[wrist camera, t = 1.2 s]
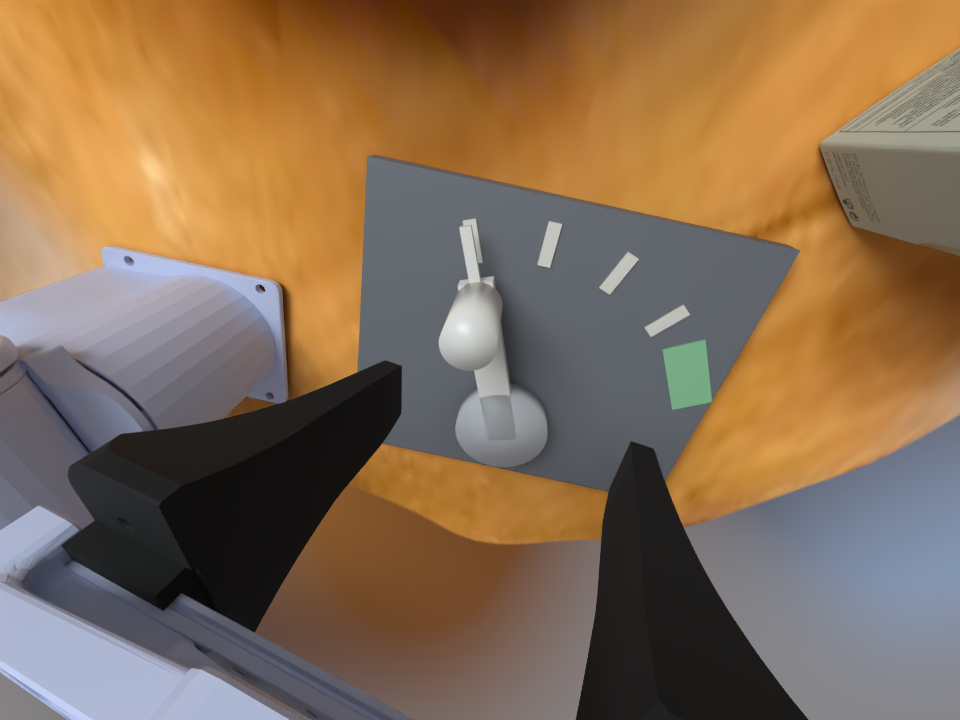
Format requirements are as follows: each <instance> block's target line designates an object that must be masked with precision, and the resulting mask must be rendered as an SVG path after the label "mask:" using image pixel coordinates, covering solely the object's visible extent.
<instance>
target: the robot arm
mask: <svg viewBox="0 0 960 720" xmlns="http://www.w3.org/2000/svg"><path fill="white" fill-rule="evenodd" d="M101 255H102V259H103V262H104V266H102V267H99V268H97V269H94V270H91V271H88V272H85V273H82V274H79V275H76V276H73V277H70V278H67V279H64V280H61V281H59V282H56V283H53V284H50V285H47V286H44V287H41V288H38V289H35V290H32V291H29V292H26V293H23V294H21V295H18V296H15V297H12V298H9V299H6V300H3V301H0V673H2V674H3V675H5V676H6V677H8V678H9V679H10V680H12V681H13V682H15V683H16V684H18V685H19V686H20V687H22V688H23V689H25V690H26V691H28V692H29V693H31V694H32V695H33V696H35V697H36V698H38V699H39V700H41V701H42V702H44V703H45V704H46V705H48V706H49V707H51V708H52V709H53V710H55V711H56V712H58V713H59V714H61V715H62V716H64V717H65V718H66V719H68V720H302V719H301V718H299V717H297V716H296V715H294V714H292V713H290V712H289V711H287V710H285V709H283V708H282V707H280V706H278V705H277V704H275V703H273V702H271V701H270V700H268V699H266V698H265V697H263V696H261V695H260V694H258V693H256V692H254V691H253V690H251V689H249V688H247V687H246V686H244V685H242V684H241V683H239V682H237V681H236V680H234V678H233V676H232V675H230V674H229V673H228V672H226V671H225V670H224V669H226V670H227V671H229V672H231V673H233V674H234V675H236V676H238V677H239V678H241V679H243V680H245V681H246V682H248V683H250V684H252V685H253V686H255V687H257V688H258V689H260V690H262V691H264V692H265V693H267V694H269V695H270V696H272V697H274V698H276V699H277V700H279V701H281V702H283V703H285V704H286V705H288V706H289V707H291V708H293V709H295V710H296V711H298V712H300V713H302V714H303V715H305V716H307V717H308V718H310V719H312V720H414V719H413V718H411V717H409V716H407V715H405V714H403V713H402V712H400V711H398V710H396V709H394V708H392V707H390V706H388V705H387V704H385V703H383V702H381V701H379V700H378V699H376V698H374V697H372V696H370V695H368V694H366V693H365V692H363V691H361V690H359V689H357V688H356V687H354V686H352V685H350V684H348V683H346V682H345V681H342V680H341V679H339V678H337V677H335V676H333V675H332V674H330V673H328V672H326V671H324V670H322V669H321V668H319V667H317V666H315V665H313V664H311V663H309V662H308V661H306V660H304V659H302V658H300V657H298V656H297V655H295V654H293V653H291V652H289V651H287V650H286V649H284V648H282V647H280V646H278V645H276V644H274V643H272V642H271V641H269V640H267V639H265V638H264V637H262V636H260V635H258V634H256V633H255V631H256V629H257V627H258V625H259V623H260V622H261V620H262V618H263V616H264V614H265V613H266V611H267V609H268V607H269V606H270V604H271V602H272V600H273V598H274V597H275V595H276V593H277V591H278V590H279V588H280V586H281V584H282V583H283V581H284V579H285V578H286V576H287V574H288V573H289V571H290V569H291V568H292V566H293V564H294V563H295V561H296V559H297V558H298V556H299V555H300V553H301V551H302V550H303V548H304V547H305V545H306V543H307V542H308V540H309V539H310V537H311V536H312V534H313V533H314V531H315V530H316V528H317V526H318V525H319V524H320V522H321V521H322V519H323V518H324V516H325V515H326V513H327V512H328V510H329V509H330V507H331V506H332V504H333V503H334V501H335V500H336V499H337V498H338V496H339V495H340V493H341V492H342V491H343V490H344V488H345V487H346V486H347V485H348V484H349V483H350V481H351V480H352V479H353V478H354V477H355V475H356V474H357V473H358V472H359V471H360V469H361V468H362V467H363V466H364V465H365V464H366V462H367V461H368V460H369V459H370V458H371V456H372V455H373V454H374V453H375V451H376V450H377V449H378V448H379V447H380V445H381V444H382V443H383V442H384V440H385V439H386V438H387V436H388V435H389V433H390V432H391V430H392V429H393V427H394V425H395V424H396V422H397V420H398V419H399V417H400V415H401V410H402V366H401V365H398V364H395V363H392V362H389V361H386V360H385V361H382V362H380V363H377V364H375V365H373V366H370V367H368V368H366V369H364V370H361V371H359V372H357V373H355V374H353V375H350V376H348V377H346V378H344V379H341V380H339V381H337V382H335V383H332V384H330V385H328V386H325V387H323V388H320V389H318V390H315V391H313V392H310V393H308V394H305V395H302V396H300V397H297V398H295V399H292V400H289V401H286V400H287V399H288V379H287V362H286V345H285V328H284V311H283V294H282V288H281V286H280V284H279V283H277V282H276V281H274V280H270V279H265V278H261V277H256V276H251V275H247V274H242V273H237V272H233V271H228V270H223V269H219V268H214V267H209V266H205V265H200V264H195V263H191V262H186V261H182V260H177V259H172V258H168V257H163V256H158V255H154V254H149V253H144V252H140V251H135V250H130V249H126V248H121V247H117V246H107V247H104V248H102V250H101ZM130 257H131V258H132V259H133V261H134V262H133V261H132V260H131V259H130ZM259 285H262V286H263V287H264V288H265V291H263V290H262V289H261V288H260V286H259ZM269 392H270V393H272V394H273V395H271V394H270V393H269ZM245 397H250V398H255V399H259V400H264V401H269V402H273V403H278V404H277V405H274V406H270V407H267V408H264V409H260V410H257V411H253V412H249V413H245V414H241V415H237V416H233V417H228V418H225V417H226V416H227V415H228V414H229V413H230V412H231V411H232V410H233V409H234V408H235V407H236V406H237V405H238V404H239V403H240V402H241V401H242V400H243V399H244V398H245ZM285 401H286V402H285ZM221 667H222V668H224V669H222V668H221ZM576 720H808V719H807V717H806V716H805V715H804V714H803V713H802V711H801V710H800V709H799V708H798V706H797V705H796V704H795V703H794V702H793V700H792V699H791V698H790V697H789V695H788V694H787V693H786V692H785V690H784V689H783V688H782V686H781V685H780V684H779V682H778V681H777V680H776V678H775V677H774V676H773V674H772V673H771V672H770V670H769V669H768V668H767V666H766V665H765V664H764V662H763V661H762V660H761V658H760V657H759V655H758V654H757V653H756V651H755V650H754V648H753V647H752V646H751V644H750V643H749V641H748V639H747V638H746V636H745V635H744V633H743V632H742V630H741V629H740V628H739V626H738V625H737V623H736V621H735V620H734V619H733V617H732V616H731V614H730V613H729V611H728V609H727V608H726V606H725V605H724V603H723V601H722V600H721V598H720V596H719V595H718V593H717V591H716V590H715V588H714V586H713V584H712V583H711V581H710V579H709V577H708V576H707V574H706V572H705V570H704V568H703V566H702V564H701V563H700V561H699V559H698V557H697V555H696V553H695V551H694V549H693V547H692V545H691V543H690V540H689V538H688V536H687V534H686V532H685V530H684V528H683V525H682V523H681V521H680V518H679V516H678V514H677V511H676V509H675V506H674V504H673V501H672V499H671V496H670V494H669V491H668V488H667V486H666V483H665V480H664V477H663V474H662V471H661V468H660V465H659V462H658V459H657V455H656V452H655V451H654V449H653V448H651V447H648V446H645V445H642V444H639V443H636V442H632V441H631V442H630V444H629V446H628V448H627V451H626V453H625V455H624V457H623V459H622V462H621V464H620V466H619V468H618V470H617V473H616V475H615V477H614V479H613V482H612V484H611V486H610V488H609V493H608V498H607V503H606V508H605V513H604V518H603V527H602V539H601V553H600V566H599V580H598V594H597V604H596V613H595V619H594V625H593V630H592V636H591V642H590V648H589V653H588V659H587V664H586V670H585V675H584V680H583V686H582V691H581V696H580V701H579V706H578V711H577V716H576Z"/></svg>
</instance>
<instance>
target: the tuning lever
mask: <svg viewBox="0 0 960 720" xmlns="http://www.w3.org/2000/svg"><path fill="white" fill-rule="evenodd" d="M459 230H460V235H461V241H462V246H463V252H464V257H465V263H466V268H467V274H468V279H466V280H460V281H459V284H458V293H457V295H456V297H455V300H454V302H453V305H452V307H451V310H450V312H449V314H448V317H447V319H446V322H445V324H444V327H443V329H442V332H441V334H440V337H439V349H440V352H441V354H442V356H443V358H444V359H445V360H446V361H447V362H448V363H449V364H450V365H452V366H454V367H455V368H458V369H461V370H465V371H474V373H475V378H476V383H477V388H476V389H474V390H473V391H471V392H470V393H469V394H468V395H467V396H466V397H465V398H464V400H463V401H462V403H461V406H460V408H459V412H458V417H457V421H456V426H455V432H456V437H457V440H458V442H459V444H460V446H461V447H462V449H463V450H464V451H465V452H466V453H467V454H468V455H469V456H471V457H472V458H474V459H475V460H477V461H479V462H481V463H484V464H487V465H490V466H495V467H513V466H518V465H521V464H524V463H526V462H528V461H530V460H532V459H533V458H535V457H536V456H537V455H538V454H539V453H540V452H541V451H542V449H543V448H544V446H545V444H546V441H547V435H548V432H547V416H546V411H545V408H544V406H543V404H542V402H541V401H540V400H539V398H538V397H537V396H536V395H535V394H533V393H532V392H531V391H529V390H528V389H526V388H524V387H522V386H519V385H516V384H512V383H510V379H509V373H508V366H507V359H506V353H505V346H504V339H503V333H502V326H501V315H502V308H503V302H502V298H501V296H500V294H499V292H498V291H497V290H496V286H495V279H494V276H490V277H482V278H481V277H480V271H479V265H478V259H477V253H476V247H475V241H474V235H473V229H472V225H465V226H460V227H459Z"/></svg>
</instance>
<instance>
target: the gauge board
mask: <svg viewBox="0 0 960 720" xmlns="http://www.w3.org/2000/svg"><path fill="white" fill-rule="evenodd" d="M465 225H472V229H473V235H474V241H475V247H476V253H477V259H478V265H479V271H480V277H481V278H482V277H490V276H494V279H495V286H496V290H497V291H498V292H499V294H500V296H501V298H502V302H503V308H502V315H501V326H502V333H503V339H504V346H505V353H506V359H507V366H508V373H509V379H510V383H512V384H516V385H519V386H522V387H524V388H526V389H528V390H529V391H531V392H532V393H533V394H535V395H536V396H537V397H538V398H539V400H540V401H541V402H542V404H543V406H544V408H545V411H546V416H547V432H548V435H547V441H546V444H545V446H544V448H543V449H542V451H541V452H540V453H539V454H538V455H537V456H536V457H535V458H533V459H532V460H530V461H528V462H526V463H524V464H521V465H518V466H513V467H496V468H501V469H506V470H511V471H515V472H520V473H525V474H529V475H534V476H539V477H543V478H548V479H553V480H558V481H562V482H567V483H572V484H576V485H581V486H586V487H591V488H595V489H600V490H605V491H609V488H610V486H611V484H612V482H613V479H614V477H615V475H616V473H617V470H618V468H619V466H620V464H621V462H622V459H623V457H624V455H625V453H626V451H627V448H628V446H629V444H630V442H631V441H632V442H636V443H639V444H642V445H645V446H648V447H651V448H653V449H654V451H655V452H656V455H657V459H658V462H659V465H660V468H661V471H662V474H663V477H664V480H666V478H667V476H668V475H669V473H670V471H671V470H672V468H673V466H674V465H675V463H676V461H677V459H678V458H679V456H680V454H681V453H682V451H683V449H684V448H685V446H686V444H687V442H688V441H689V439H690V437H691V436H692V434H693V432H694V431H695V429H696V427H697V425H698V424H699V422H700V420H701V419H702V417H703V415H704V414H705V412H706V410H707V408H708V407H709V405H710V403H711V402H712V400H713V398H714V397H715V395H716V393H717V391H718V390H719V388H720V386H721V385H722V383H723V381H724V380H725V378H726V376H727V374H728V373H729V371H730V369H731V368H732V366H733V364H734V363H735V361H736V359H737V357H738V356H739V354H740V352H741V351H742V349H743V347H744V346H745V344H746V342H747V340H748V339H749V337H750V335H751V334H752V332H753V330H754V329H755V327H756V325H757V323H758V322H759V320H760V318H761V317H762V315H763V313H764V312H765V310H766V308H767V306H768V305H769V303H770V301H771V300H772V298H773V296H774V295H775V293H776V291H777V289H778V288H779V286H780V284H781V283H782V281H783V279H784V278H785V276H786V274H787V272H788V271H789V269H790V267H791V266H792V264H793V262H794V261H795V259H796V257H797V255H798V254H799V252H800V251H799V250H797V249H795V248H793V247H791V246H789V245H786V244H781V243H777V242H772V241H767V240H763V239H758V238H754V237H749V236H745V235H740V234H735V233H731V232H726V231H722V230H717V229H712V228H708V227H703V226H699V225H694V224H690V223H685V222H680V221H676V220H671V219H667V218H662V217H658V216H653V215H648V214H644V213H639V212H635V211H630V210H625V209H621V208H616V207H612V206H607V205H603V204H598V203H593V202H589V201H584V200H580V199H575V198H571V197H566V196H561V195H557V194H552V193H548V192H543V191H538V190H534V189H529V188H525V187H520V186H516V185H511V184H506V183H502V182H497V181H493V180H488V179H484V178H479V177H474V176H470V175H465V174H461V173H456V172H452V171H447V170H442V169H438V168H433V167H429V166H424V165H419V164H415V163H410V162H406V161H401V160H397V159H392V158H387V157H383V156H378V155H372V156H367V177H366V200H365V222H364V244H363V267H362V289H361V311H360V334H359V356H358V372H359V371H361V370H364V369H366V368H368V367H370V366H373V365H375V364H377V363H380V362H382V361H385V360H386V361H389V362H392V363H395V364H398V365H401V366H402V410H401V415H400V417H399V419H398V420H397V422H396V424H395V425H394V427H393V429H392V430H391V432H390V433H389V435H388V436H387V438H386V439H385V440H384V442H383V444H388V445H393V446H398V447H402V448H407V449H412V450H416V451H421V452H426V453H430V454H435V455H440V456H445V457H449V458H454V459H459V460H463V461H468V462H473V463H478V464H482V465H487V464H484V463H481V462H479V461H477V460H475V459H474V458H472V457H471V456H469V455H468V454H467V453H466V452H465V451H464V450H463V449H462V447H461V446H460V444H459V442H458V440H457V437H456V432H455V426H456V421H457V417H458V412H459V408H460V406H461V403H462V401H463V400H464V398H465V397H466V396H467V395H468V394H469V393H470V392H471V391H473V390H474V389H476V388H477V383H476V378H475V373H474V371H465V370H461V369H458V368H455V367H454V366H452V365H450V364H449V363H448V362H447V361H446V360H445V359H444V358H443V356H442V354H441V352H440V349H439V337H440V334H441V332H442V329H443V327H444V324H445V322H446V319H447V317H448V314H449V312H450V310H451V307H452V305H453V302H454V300H455V297H456V295H457V293H458V284H459V281H460V280H466V279H468V274H467V268H466V263H465V257H464V252H463V246H462V241H461V235H460V230H459V227H460V226H465ZM487 466H490V465H487ZM492 467H495V466H492Z"/></svg>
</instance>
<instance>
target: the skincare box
mask: <svg viewBox="0 0 960 720" xmlns="http://www.w3.org/2000/svg"><path fill="white" fill-rule="evenodd" d="M820 150H821V152H822V155H823V157H824V160H825V163H826V166H827V169H828V172H829V174H830V177H831V180H832V182H833V185H834V187H835V190H836V192H837V195H838V197H839V200H840V202H841V204H842V206H843V209H844V211H845V213H846V215H847V217H848V219H849V221H850V223H851V225H852V226H854V227H857V228H860V229H864V230H868V231H871V232H874V233H878V234H881V235H885V236H889V237H892V238H895V239H899V240H902V241H906V242H909V243H913V244H917V245H921V246H924V247H928V248H931V249H935V250H939V251H942V252H946V253H949V254H953V255H957V256H960V48H959V49H957V50H956V51H954V52H953V53H951V54H950V55H948V56H946V57H945V58H943V59H942V60H940V61H939V62H937V63H936V64H934V65H933V66H931V67H930V68H928V69H927V70H925V71H924V72H922V73H921V74H919V75H918V76H916V77H915V78H913V79H912V80H910V81H909V82H907V83H906V84H904V85H903V86H901V87H900V88H898V89H897V90H895V91H894V92H892V93H891V94H889V95H888V96H886V97H885V98H883V99H882V100H880V101H879V102H878V103H876V104H875V105H873V106H872V107H870V108H869V109H867V110H866V111H864V112H863V113H862V114H860V115H859V116H857V117H856V118H854V119H853V120H851V121H850V122H849V123H847V124H846V125H844V126H843V127H841V128H840V129H839V130H837V131H836V132H834V133H833V134H832V135H830V136H829V137H827V138H826V139H824V140H823V141H822V142H821V143H820Z"/></svg>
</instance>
